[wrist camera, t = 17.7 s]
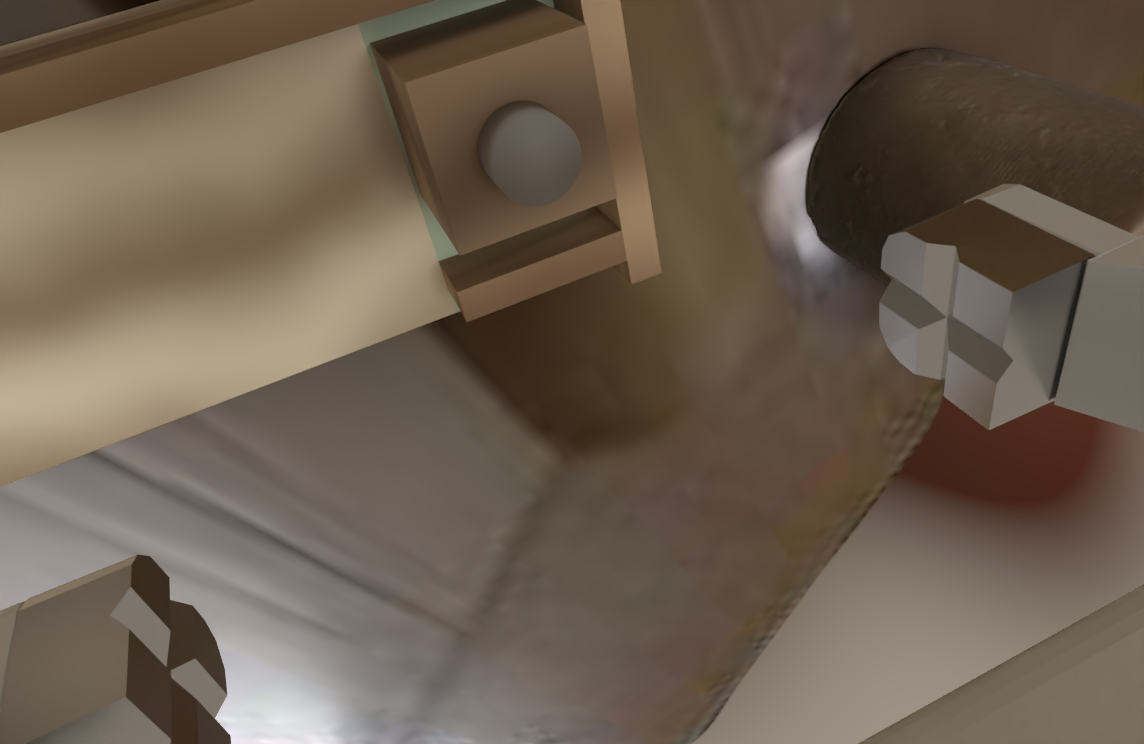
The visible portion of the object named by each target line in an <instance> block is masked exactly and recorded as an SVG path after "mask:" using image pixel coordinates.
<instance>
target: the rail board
mask: <svg viewBox="0 0 1144 744" xmlns="http://www.w3.org/2000/svg"><path fill="white" fill-rule="evenodd" d="M503 1H506V0H160V1H156V2H153V3H149V4H146V5H142V6H139V7H135V8H132V9H128V10H125V11H121V12H118V13H114V14H111V15H107V16H104V17H100V18H97V19H93V20H90V21H86V22H83V23H79V24H76V25H73V26H69V27H66V28H62V29H59V30H55V31H52V32H48V33H45V34H41V35H38V36H34V37H31V38H27V39H24V40H20V41H17V42H13V43H10V44H6V45H3V46H0V487H1V486H3V485H6V484H8V483H11V482H14V481H16V480H19V479H21V478H24V477H27V476H29V475H32V474H35V473H37V472H40V471H42V470H45V469H48V468H50V467H53V466H56V465H58V464H61V463H63V462H66V461H69V460H71V459H74V458H77V457H79V456H82V455H84V454H87V453H90V452H92V451H95V450H98V449H100V448H103V447H105V446H108V445H111V444H113V443H116V442H118V441H121V440H124V439H126V438H129V437H132V436H134V435H137V434H139V433H142V432H145V431H147V430H150V429H153V428H155V427H158V426H160V425H163V424H166V423H168V422H171V421H174V420H176V419H179V418H181V417H184V416H187V415H189V414H192V413H195V412H197V411H200V410H202V409H205V408H208V407H210V406H213V405H216V404H218V403H221V402H223V401H226V400H229V399H231V398H234V397H236V396H239V395H242V394H244V393H247V392H250V391H252V390H255V389H257V388H260V387H263V386H265V385H268V384H271V383H273V382H276V381H278V380H281V379H284V378H286V377H289V376H292V375H294V374H297V373H299V372H302V371H305V370H307V369H310V368H313V367H315V366H318V365H320V364H323V363H326V362H328V361H331V360H333V359H336V358H339V357H341V356H344V355H347V354H349V353H352V352H354V351H357V350H360V349H362V348H365V347H368V346H370V345H373V344H375V343H378V342H381V341H383V340H386V339H389V338H391V337H394V336H396V335H399V334H402V333H404V332H407V331H410V330H412V329H415V328H417V327H420V326H423V325H425V324H428V323H431V322H433V321H436V320H438V319H441V318H444V317H446V316H449V315H451V314H454V313H457V312H459V311H461V313H462V315H463V316H464V318H465V320H466V322H469V321H471V320H474V319H477V318H479V317H482V316H484V315H487V314H490V313H492V312H495V311H497V310H500V309H503V308H505V307H508V306H510V305H513V304H516V303H518V302H521V301H523V300H526V299H529V298H531V297H534V296H536V295H539V294H542V293H544V292H547V291H549V290H552V289H555V288H557V287H560V286H562V285H565V284H568V283H570V282H573V281H575V280H578V279H581V278H583V277H586V276H588V275H591V274H594V273H596V272H599V271H601V270H604V269H607V268H609V267H612V266H614V267H615V268H616V269H617V270H618V271H619V272H620V273H621V274H622V275H623V276H624V277H625V278H626V279H627V280H628V281H629V282H630V283H631V284H634V283H637V282H639V281H642V280H645V279H647V278H650V277H652V276H655V275H657V274H660V273H661V266H660V259H659V253H658V246H657V240H656V233H655V226H654V220H653V213H652V207H651V200H650V193H649V187H648V180H647V173H646V167H645V160H644V154H643V147H642V140H641V134H640V127H639V121H638V114H637V107H636V101H635V94H634V88H633V81H632V74H631V68H630V61H629V55H628V48H627V41H626V35H625V28H624V22H623V15H622V8H621V2H620V0H537V1H539V2H542V3H544V4H546V5H548V6H550V7H552V8H554V9H556V10H558V11H560V12H562V13H564V14H566V15H569V16H571V17H573V18H575V19H577V20H579V21H581V22H583V23H585V24H587V28H588V34H589V40H590V45H591V51H592V57H593V62H594V68H595V73H596V79H597V85H598V90H599V96H600V102H601V107H602V113H603V118H604V124H605V130H606V135H607V141H608V146H609V152H610V158H611V163H612V169H613V175H614V180H615V186H616V191H617V197H618V198H615V199H613V200H610V201H607V202H605V203H602V204H599V205H596V206H594V207H591V208H588V209H586V210H583V211H580V212H577V213H575V214H572V215H569V216H567V217H564V218H561V219H558V220H556V221H553V222H550V223H548V224H545V225H542V226H539V227H537V228H534V229H531V230H529V231H526V232H523V233H520V234H518V235H515V236H512V237H510V238H507V239H504V240H501V241H499V242H496V243H493V244H491V245H488V246H485V247H482V248H480V249H477V250H474V251H472V252H469V253H466V254H463V255H461V256H460V255H459V253H458V252H457V250H456V249H455V247H454V246H453V244H452V243H451V241H450V239H449V238H448V236H447V235H446V233H445V232H444V230H443V229H442V227H441V226H440V224H439V222H438V221H437V219H436V218H435V216H434V215H433V213H432V212H431V210H430V209H429V207H428V205H427V204H426V202H425V201H424V199H423V198H422V196H421V194H420V191H419V188H418V185H417V182H416V179H415V176H414V173H413V170H412V167H411V164H410V161H409V158H408V155H407V152H406V149H405V146H404V143H403V140H402V137H401V134H400V131H399V128H398V125H397V123H396V120H395V117H394V114H393V111H392V108H391V105H390V102H389V99H388V96H387V93H386V90H385V87H384V84H383V81H382V78H381V75H380V72H379V69H378V66H377V63H376V60H375V57H374V54H373V51H372V48H371V45H370V43H371V42H374V41H377V40H380V39H384V38H387V37H390V36H393V35H397V34H400V33H403V32H406V31H409V30H413V29H416V28H419V27H422V26H425V25H429V24H432V23H435V22H438V21H442V20H445V19H448V18H451V17H454V16H458V15H461V14H464V13H467V12H471V11H474V10H477V9H480V8H483V7H487V6H490V5H493V4H496V3H500V2H503Z"/></svg>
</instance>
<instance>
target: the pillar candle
mask: <svg viewBox="0 0 1144 744" xmlns="http://www.w3.org/2000/svg"><path fill="white" fill-rule="evenodd" d="M808 182H809V186H808V192H807V205H808V208H807V210H808V212H809V216H810V217H811V218H812V221H813V224H814V225H815V227H816V229H817V232H818V236H819V237H820V239H821V241H822V242H823V243H824V244H826V245H827V246H828V247H829V248H830V249H831V250H832V251H834V252H835V253H837V254H838V255H840V256H841V257H843V258H845V259H847V260H848V261H849V262H851V263H852V264H853V265H855V266H857V267H858V268H860V269H862V270H863V271H865V272H866V273H868V274H870V275H871V276H873V277H874V278H876V279H877V280H879V281H880V282H882V283H884V284H885V285H887V286H888V285H889V284H890V282H891V279H890V278H889V277H888V276H887V275H886V274H885V273H884V272H883V271H882V269H881V260H882V249H883V247H884V245H885V242H886V240H887V238H888V236H889V235H891V234H893V233H895V232H898V231H900V230H902V229H905V228H907V227H909V226H912V225H914V224H916V223H919V222H921V221H923V220H925V219H928V218H930V217H932V216H935V215H937V214H939V213H942V212H944V211H946V210H949V209H951V208H953V207H955V206H958V205H960V204H963V203H964V202H965V201H966V200H969V199H971V198H973V197H975V196H977V195H980V194H982V193H984V192H986V191H988V190H991V189H993V188H995V187H997V186H999V185H1002V184H1020V185H1023V186H1025V187H1027V188H1030V189H1032V190H1034V191H1036V192H1039V193H1041V194H1043V195H1045V196H1048V197H1050V198H1052V199H1054V200H1057V201H1059V202H1061V203H1063V204H1066V205H1068V206H1070V207H1073V208H1075V209H1077V210H1079V211H1082V212H1084V213H1086V214H1088V215H1091V216H1093V217H1095V218H1097V219H1100V220H1102V221H1104V222H1107V223H1109V224H1111V225H1113V226H1116V227H1118V228H1120V229H1122V230H1125V231H1127V232H1129V233H1131V234H1134V235H1136V236H1138V237H1141V236H1143V235H1144V106H1140V105H1137V104H1134V103H1130V102H1127V101H1124V100H1120V99H1116V98H1112V97H1108V96H1105V95H1102V94H1098V93H1095V92H1093V91H1089V90H1087V89H1083V88H1080V87H1077V86H1074V85H1071V84H1067V83H1064V82H1061V81H1058V80H1055V79H1051V78H1049V77H1046V76H1043V75H1037V74H1033V73H1029V72H1025V71H1022V70H1019V69H1017V68H1014V67H1011V66H1009V65H1007V64H1003V63H999V62H995V61H991V60H989V59H986V58H981V57H978V56H972V55H966V54H962V53H959V52H954V51H950V50H946V49H939V48H927V49H919V50H913V51H910V52H906V53H905V54H903V55H900V56H898V57H895V58H893V59H891V60H890V61H888V62H887V63H885V64H884V65H882V66H881V67H879V68H878V69H876V70H874V71H873V72H872V73H870V74H869V75H868V76H867V77H866V78H865V79H863V80H862V81H861V82H859V83H858V84H857V85H856V86H855V87H854V88H853V89H852V90H851V91H850V92H849V93H848V94H847V95H846V96H845V97H844V98H843V100H842V101H841V103H840V104H839V106H838V108H837V109H835V111H834V112H833V114H832V116H831V117H830V119H829V121H828V123H827V125H826V127H825V129H824V130H823V131H822V133H821V139H820V140H819V141H818V145H817V147H816V149H815V153H814V156H813V160H812V163H811V167H810V177H809V181H808Z"/></svg>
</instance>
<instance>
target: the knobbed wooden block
mask: <svg viewBox="0 0 1144 744" xmlns="http://www.w3.org/2000/svg"><path fill="white" fill-rule="evenodd" d="M370 45H371V48H372V51H373V54H374V57H375V60H376V63H377V66H378V69H379V72H380V75H381V78H382V81H383V84H384V87H385V90H386V93H387V96H388V99H389V102H390V105H391V108H392V111H393V114H394V117H395V120H396V123H397V125H398V128H399V131H400V134H401V137H402V140H403V143H404V146H405V149H406V152H407V155H408V158H409V161H410V164H411V167H412V170H413V173H414V176H415V179H416V182H417V185H418V188H419V191H420V194H421V196H422V198H423V199H424V201H425V202H426V204H427V205H428V207H429V209H430V210H431V212H432V213H433V215H434V216H435V218H436V219H437V221H438V222H439V224H440V226H441V227H442V229H443V230H444V232H445V233H446V235H447V236H448V238H449V239H450V241H451V243H452V244H453V246H454V247H455V249H456V250H457V252H458V253H459V255H460V256H461V255H463V254H466V253H469V252H472V251H474V250H477V249H480V248H482V247H485V246H488V245H491V244H493V243H496V242H499V241H501V240H504V239H507V238H510V237H512V236H515V235H518V234H520V233H523V232H526V231H529V230H531V229H534V228H537V227H539V226H542V225H545V224H548V223H550V222H553V221H556V220H558V219H561V218H564V217H567V216H569V215H572V214H575V213H577V212H580V211H583V210H586V209H588V208H591V207H594V206H596V205H599V204H602V203H605V202H607V201H610V200H613V199H615V198H618V197H617V191H616V186H615V180H614V175H613V169H612V163H611V158H610V152H609V146H608V141H607V135H606V130H605V124H604V118H603V113H602V107H601V102H600V96H599V90H598V85H597V79H596V73H595V68H594V62H593V57H592V51H591V45H590V40H589V34H588V28H587V24H585V23H583V22H581V21H579V20H577V19H575V18H573V17H571V16H569V15H566V14H564V13H562V12H560V11H558V10H556V9H554V8H552V7H550V6H548V5H546V4H544V3H542V2H539V1H537V0H506V1H503V2H500V3H496V4H493V5H490V6H487V7H483V8H480V9H477V10H474V11H471V12H467V13H464V14H461V15H458V16H454V17H451V18H448V19H445V20H442V21H438V22H435V23H432V24H429V25H425V26H422V27H419V28H416V29H413V30H409V31H406V32H403V33H400V34H397V35H393V36H390V37H387V38H384V39H380V40H377V41H374V42H371V43H370Z"/></svg>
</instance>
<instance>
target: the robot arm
mask: <svg viewBox="0 0 1144 744" xmlns="http://www.w3.org/2000/svg"><path fill="white" fill-rule="evenodd" d="M881 269H882V271H883V272H884V273H885V274H886V275H887V276H888V277H889V278H890V279H891V282H890V284H889V285H888V287H887V289H886V291H885V293H884V294H883V296H882V298H881V300H880V301H879V326H880V329H881V331H882V334H883V336H884V339H885V341H886V344H887V346H888V348H889V349H890V351H891V352H892V353H893V354H894V356H895V357H896V358H897V360H898V361H899V362H900V363H901V364H903V365H904V366H905V367H907V368H908V369H909V370H910V371H912V372H913V373H914V374H917V375H921V376H926V377H931V378H935V379H940V380H941V385H942V390H943V395H944V397H946V398H947V399H948V400H950V401H951V402H952V403H954V404H955V405H956V406H958V407H959V408H960V409H962V410H963V411H964V412H966V413H967V414H968V415H970V416H971V417H972V418H973V419H975V420H976V421H978V422H979V423H980V424H982V425H983V426H984V427H985V428H987V429H988V430H990V429H993V428H995V427H997V426H999V425H1001V424H1003V423H1006V422H1008V421H1010V420H1012V419H1015V418H1017V417H1019V416H1021V415H1023V414H1025V413H1027V412H1030V411H1032V410H1034V409H1036V408H1039V407H1041V406H1043V405H1045V404H1047V403H1050V402H1052V401H1054V400H1055V402H1054V405H1058V406H1061V407H1064V408H1068V409H1071V410H1074V411H1077V412H1080V413H1084V414H1087V415H1090V416H1093V417H1097V418H1100V419H1103V420H1106V421H1109V422H1113V423H1116V424H1119V425H1122V426H1126V427H1129V428H1132V429H1135V430H1139V431H1142V432H1144V235H1143V236H1141V237H1138V236H1136V235H1134V234H1131V233H1129V232H1127V231H1125V230H1122V229H1120V228H1118V227H1116V226H1113V225H1111V224H1109V223H1107V222H1104V221H1102V220H1100V219H1097V218H1095V217H1093V216H1091V215H1088V214H1086V213H1084V212H1082V211H1079V210H1077V209H1075V208H1073V207H1070V206H1068V205H1066V204H1063V203H1061V202H1059V201H1057V200H1054V199H1052V198H1050V197H1048V196H1045V195H1043V194H1041V193H1039V192H1036V191H1034V190H1032V189H1030V188H1027V187H1025V186H1023V185H1020V184H1002V185H999V186H997V187H995V188H993V189H991V190H988V191H986V192H984V193H982V194H980V195H977V196H975V197H973V198H971V199H969V200H966V201H965V202H964V203H963V204H960V205H958V206H955V207H953V208H951V209H949V210H946V211H944V212H942V213H939V214H937V215H935V216H932V217H930V218H928V219H925V220H923V221H921V222H919V223H916V224H914V225H912V226H909V227H907V228H905V229H902V230H900V231H898V232H895V233H893V234H891V235H889V236H888V238H887V240H886V242H885V245H884V247H883V249H882V260H881ZM226 696H227V688H226V678H225V669H224V665H223V662H222V659H221V656H220V652H219V649H218V646H217V643H216V640H215V638H214V636H213V635H212V633H211V631H210V629H209V627H208V626H207V624H206V622H205V620H204V619H203V618H202V617H201V615H200V614H199V613H198V612H197V610H196V609H195V608H194V607H193V606H192V605H188V604H184V603H180V602H176V601H172V600H170V589H169V577H168V576H167V575H166V573H165V572H164V571H163V570H162V569H161V568H160V567H159V566H158V565H157V564H156V563H155V561H154V560H153V559H152V558H151V557H150V556H144V555H136V556H133V557H131V558H128V559H126V560H123V561H121V562H118V563H116V564H113V565H111V566H108V567H106V568H103V569H101V570H98V571H96V572H93V573H91V574H88V575H86V576H83V577H81V578H78V579H76V580H73V581H71V582H68V583H66V584H64V585H61V586H59V587H56V588H54V589H51V590H49V591H46V592H44V593H41V594H39V595H36V596H34V597H31V598H29V599H27V601H25V602H22V603H18V604H16V605H13V606H11V607H9V608H6V609H4V610H1V611H0V744H231V739H230V735H229V734H228V733H227V732H226V730H225V729H224V728H223V727H222V726H221V725H220V724H219V723H218V722H217V721H216V720H215V717H216V715H217V713H218V711H219V709H220V707H221V706H222V704H223V702H224V700H225V698H226ZM858 744H1144V585H1142V586H1140V587H1138V588H1136V589H1134V590H1133V591H1131V592H1129V593H1127V594H1125V595H1124V596H1122V597H1120V598H1118V599H1117V600H1115V601H1113V602H1111V603H1109V604H1108V605H1106V606H1104V607H1102V608H1100V609H1099V610H1097V611H1095V612H1093V613H1091V614H1090V615H1088V616H1086V617H1084V618H1082V619H1081V620H1079V621H1077V622H1075V623H1073V624H1072V625H1070V626H1068V627H1067V628H1065V629H1063V630H1061V631H1059V632H1057V633H1056V634H1054V635H1052V636H1051V637H1049V638H1047V639H1045V640H1043V641H1041V642H1040V643H1038V644H1036V645H1034V646H1032V647H1030V648H1029V649H1027V650H1025V651H1023V652H1022V653H1020V654H1018V655H1016V656H1014V657H1013V658H1011V659H1009V660H1007V661H1005V662H1004V663H1002V664H1000V665H998V666H996V667H995V668H993V669H991V670H989V671H987V672H986V673H984V674H982V675H980V676H978V677H977V678H975V679H973V680H971V681H970V682H968V683H966V684H964V685H963V686H961V687H959V688H957V689H955V690H954V691H952V692H950V693H948V694H947V695H944V696H943V697H941V698H939V699H937V700H936V701H934V702H932V703H930V704H928V705H927V706H925V707H923V708H921V709H920V710H918V711H916V712H914V713H912V714H910V715H909V716H907V717H905V718H903V719H901V720H900V721H898V722H896V723H894V724H893V725H891V726H889V727H887V728H885V729H884V730H882V731H880V732H878V733H876V734H875V735H873V736H871V737H869V738H867V739H866V740H864V741H862V742H860V743H858Z"/></svg>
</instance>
